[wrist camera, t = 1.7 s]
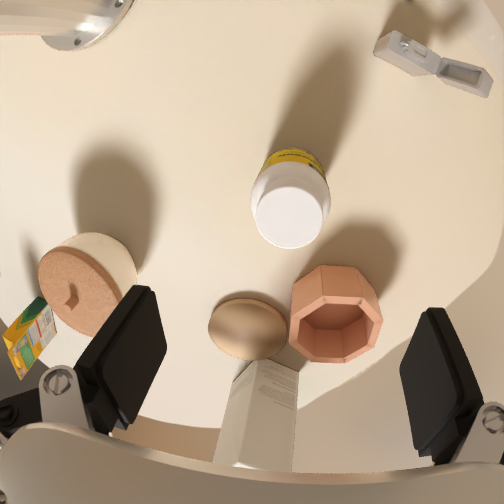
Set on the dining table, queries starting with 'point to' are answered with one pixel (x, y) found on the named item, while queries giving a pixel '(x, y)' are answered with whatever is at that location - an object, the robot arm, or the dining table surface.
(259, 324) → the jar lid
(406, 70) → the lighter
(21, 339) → the crayon box
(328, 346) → the terracotta octagonal planter pot
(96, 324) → the lidded jar
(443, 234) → the dining table surface
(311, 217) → the supplement bottle
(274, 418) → the skincare box
